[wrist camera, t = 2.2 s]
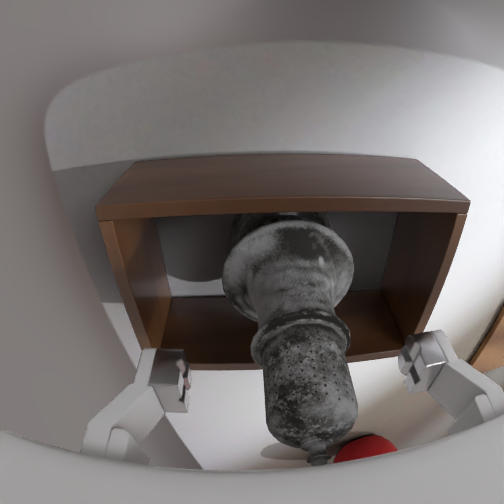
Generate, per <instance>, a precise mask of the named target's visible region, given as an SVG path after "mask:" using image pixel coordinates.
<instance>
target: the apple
mask: <svg viewBox="0 0 504 504" xmlns="http://www.w3.org/2000/svg"><path fill="white" fill-rule="evenodd" d="M395 451H398V450H397V449H396V447H395V446H394V445H393V444H392V443H391V442H390V441H388V440H387V439H385V438H383V437H382V436H377V435H371V436H365V437H363V438H360V439H357V440H355V441H352V442H349V443H347V444H346V445H345V446H344V447H343V448H342V449H341V450H340V451H339V452H338V453H337V455H336V457H335V459H334V462H333V463H339V462H345V461H351V460H357V459H362V458H367V457H372V456H377V455H382V454H386V453H390V452H395Z"/></svg>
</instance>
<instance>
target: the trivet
mask: <svg viewBox="0 0 504 504" xmlns="http://www.w3.org/2000/svg"><path fill="white" fill-rule="evenodd" d="M469 365H471V366H472V367H473V368H475V369H476V370H478V371H479V372H481V373H483V372H487V371H490V370H493V369H496V368H499V367H501V366H504V306H503V308H502V310H501V312H500V314H499V315H498V317H497V319H496V321H495V322H494V324H493V326H492V328H491V329H490V331H489V333H488V334H487V336H486V338H485V339H484V341H483V343H482V344H481V346H480V347H479V349H478V351H477V352H476V354H475V355H474V357H473V358H472V360H471V361H470V363H469Z"/></svg>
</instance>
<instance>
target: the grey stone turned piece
mask: <svg viewBox="0 0 504 504" xmlns="http://www.w3.org/2000/svg"><path fill="white" fill-rule="evenodd" d="M231 243H232V249H231V251H230V253H229V255H228V256H227V258H226V260H225V262H224V267H223V273H222V282H223V290H224V292H225V294H226V296H227V298H228V300H229V302H230V303H231V305H232V306H233V307H234V308H235V309H236V310H237V311H238V312H239V313H241V314H242V315H244V316H246V317H247V318H249V319H251V320H253V321H256V322H258V329H259V330H258V331H257V333H256V334H255V335H254V337H253V339H252V343H251V356H252V358H253V359H254V361H255V363H256V364H257V365H258V366H259V367H261V368H262V369H263V376H264V393H265V409H266V423H267V426H268V429H269V431H270V433H271V434H272V435H273V436H274V437H275V438H276V439H277V440H278V441H280V442H281V443H283V444H286V445H288V446H291V447H295V448H301V449H302V450H304V451H309V452H310V454H311V456H310V457H309V458H308V459H307V462H308V463H311V464H312V466H317V465H325V464H327V460H329V459H330V458H331V456H330V455H328V454H326V452H325V451H326V448H327V447H329V446H331V445H332V444H333V443H334V442H336V441H338V440H339V439H341V438H342V437H343V436H344V435H346V434H347V433H348V432H349V431H350V430H351V429H352V427H353V425H354V423H355V421H356V419H357V417H358V403H357V399H356V395H355V391H354V387H353V383H352V380H351V376H350V372H349V368H348V365H347V361H346V357H345V353H346V352H347V350H348V348H349V345H350V341H351V337H350V331H349V329H348V327H347V325H346V324H345V322H344V321H342V320H341V319H340V318H338V317H337V316H336V315H335V311H334V307H335V306H337V304H338V303H339V302H340V301H341V300H342V298H343V297H344V296H345V295H346V293H347V291H348V289H349V287H350V285H351V283H352V279H353V273H354V264H353V258H352V254H351V252H350V250H349V248H348V247H347V245H346V243H345V241H344V240H343V239H342V238H341V237H340V236H339V235H337V234H336V233H335V232H334V231H333V230H331V229H330V226H329V221H328V218H327V217H326V215H325V213H324V212H274V213H239V214H238V216H237V218H236V220H235V222H234V223H233V228H232V232H231Z"/></svg>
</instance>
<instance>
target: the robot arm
mask: <svg viewBox="0 0 504 504" xmlns="http://www.w3.org/2000/svg"><path fill="white" fill-rule="evenodd" d="M404 343H405V346H404V347H403V348H402V349H401V350H400V352H399V355H398V365H399V369H400V371H401V373H403V374H404V375H405V376H406V377H405V380H404V382H405V384H406V387H407V390H408V392H409V394H414V393H419V392H424V391H427V392H428V393H429V394H430V395H431V396H432V397H433V398H434V399H435V400H436V401H437V402H438V403H439V404H440V405H441V406H442V407H443V408H444V409H445V410H446V411H448V412H449V413H450V414H451V415H452V416H453V417H454V418H455V419H456V420H455V421H454V422H453V423H452V424H451V425H450V426H449V428H448V432H449V436H447V437H444V438H440V439H437V440H434V441H431V442H428V443H424V444H421V445H417V446H414V447H410V448H406V449H403V450H399V451H395V452H390V453H386V454H382V455H377V456H372V457H367V458H362V459H357V460H351V461H345V462H339V463H332V464H325V465H317V466H309V467H299V468H287V469H272V470H243V471H225V470H195V469H181V468H169V467H158V466H151V465H149V460H150V459H149V457H148V456H147V455H146V453H145V452H144V451H143V450H142V449H141V447H140V446H139V445H140V444H141V443H142V442H143V440H144V439H145V438H146V437H147V435H148V434H149V433H150V432H151V430H152V429H153V428H154V427H155V426H156V424H157V423H158V422H159V421H160V419H161V418H162V417H163V416H164V414H165V412H175V413H188V405H189V395H188V392H187V391H188V390H189V388H190V387H191V368H190V364H189V363H188V362H187V353H186V350H182V349H162V348H144V349H143V350H142V352H141V356H140V360H139V364H138V367H137V371H136V375H135V380H134V383H133V384H129V385H128V386H127V387H126V388H125V389H124V390H122V391H121V392H120V393H119V394H118V395H117V396H116V397H115V398H114V399H113V400H112V401H111V402H110V403H108V404H107V405H106V406H105V407H104V408H103V409H102V410H101V411H100V412H99V413H98V414H97V415H96V416H94V417H93V418H92V419H91V420H90V421H89V422H88V425H87V428H86V432H85V435H84V439H83V443H82V447H81V450H80V453H79V452H75V451H70V450H67V449H63V448H59V447H56V446H52V445H49V444H45V443H42V442H39V441H36V440H33V439H29V438H27V437H24V436H21V435H18V434H16V433H13V432H10V431H7V430H1V431H0V504H504V392H503V390H502V388H501V386H499V385H498V384H496V383H495V382H493V381H492V380H491V379H489V378H488V377H486V376H485V375H483V374H482V373H481V372H479V371H478V370H476V369H475V368H473V367H472V366H471V365H469V364H468V363H466V362H465V361H463V360H462V359H460V360H459V359H458V358H457V356H456V354H455V352H454V350H453V348H452V346H451V344H450V343H449V341H448V339H447V337H446V335H445V334H444V332H443V331H442V330H437V331H431V332H423V333H417V334H411V335H408V336H407V337H406V339H405V341H404Z"/></svg>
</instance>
